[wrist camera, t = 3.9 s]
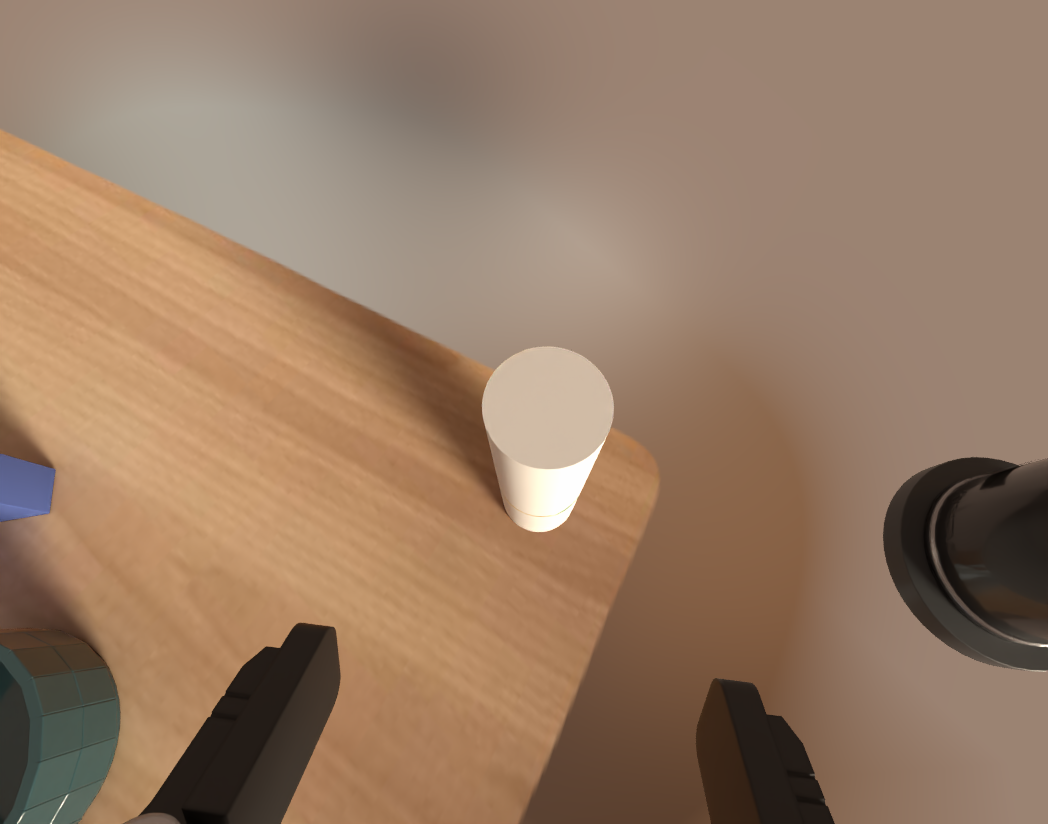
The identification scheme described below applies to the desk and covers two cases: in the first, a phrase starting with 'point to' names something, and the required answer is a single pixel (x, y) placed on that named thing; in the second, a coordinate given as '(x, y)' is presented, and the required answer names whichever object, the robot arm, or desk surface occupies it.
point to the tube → (545, 431)
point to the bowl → (53, 726)
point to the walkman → (24, 488)
